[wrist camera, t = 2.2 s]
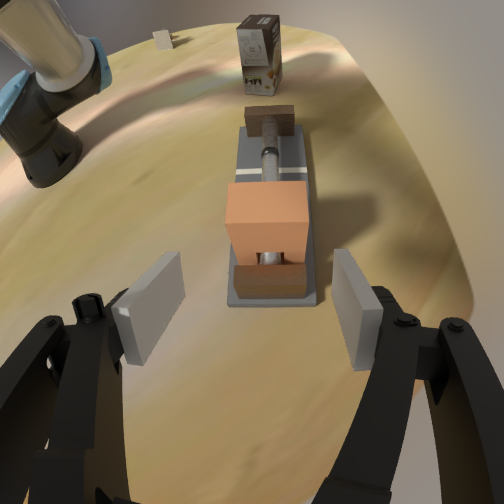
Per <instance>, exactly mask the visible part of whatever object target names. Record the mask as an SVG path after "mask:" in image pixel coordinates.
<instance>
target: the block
mask: <svg viewBox="0 0 504 504" xmlns="http://www.w3.org/2000/svg"><path fill="white" fill-rule="evenodd" d="M225 225H226V228H227V231H228V234H229V237H230V240H231V243H232V246H233V249H234V252H235V255H236V258H237V261H238V264H239V265H260V253H264V252H281V265H299V264H304V260H305V252H306V244H307V236H308V228H309V213H308V200H307V189H306V181H267V182H240V183H229V186H228V197H227V208H226V220H225Z"/></svg>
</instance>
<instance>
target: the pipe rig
mask: <svg viewBox="0 0 504 504" xmlns="http://www.w3.org/2000/svg"><path fill="white" fill-rule="evenodd" d="M244 117H245V123H246V130H247V136H248V137H262V152H261V159H262V182H267V181H279V151H278V136H294V105H276V106H253V107H245V114H244ZM233 286H234V289H235V291H236V293H237V295H238V298H239V299H304V297H305V292H306V287H307V274H306V264H299V265H281V252H264V253H260V265H234V278H233Z"/></svg>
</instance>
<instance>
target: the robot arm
mask: <svg viewBox="0 0 504 504" xmlns="http://www.w3.org/2000/svg"><path fill="white" fill-rule="evenodd" d="M0 41H2V42H3V43H4V44H5V45H6V46H7V47H9V48H10V49H11V50H12V51H13V52H14V53H16V54H17V55H18V56H19V57H20V58H21V59H23V60H24V61H25V62H26V63H27V64H29V65H30V66H31V67H32V68H33V69H35V72H33V73H32V74H30V72H29V71H27V70H23V71H22V72H20V73H18V74H17V75H16V76H14V77H13V78H12V79H11V80H10V81H9V82H8V83H7V84H6V85H5V86H4V87H3V88H2V89H1V91H0V135H1V136H2V137H3V138H4V140H5V141H6V142H7V143H8V145H9V146H10V147H11V148H12V149H13V151H14V152H15V153H16V154H17V155H18V157H19V158H20V160H21V163H22V166H23V168H24V171H25V174H26V176H27V179H28V180H29V181H30V183H31V184H32V185H33V186H34V187H36V188H45V187H48V186H50V185H52V184H54V183H55V182H57V181H58V180H60V179H61V178H62V177H63V176H64V175H66V174H67V173H68V172H69V171H70V169H71V168H72V167H73V166H74V164H75V163H76V161H77V160H78V158H79V156H80V154H81V151H82V142H81V140H80V139H79V137H78V136H77V135H76V134H75V133H74V132H73V131H71V130H70V129H68V128H67V127H65V126H64V125H63V124H61V123H60V122H59V121H58V119H57V117H58V116H60V115H61V114H63V113H64V112H66V111H68V110H69V109H71V108H73V107H74V106H76V105H78V104H79V103H81V102H83V101H85V100H86V99H88V98H90V97H92V96H93V95H95V94H99V93H100V92H101V91H102V90H104V89H106V88H107V87H109V86H110V85H111V83H112V74H111V70H110V67H109V64H108V60H107V57H106V54H105V51H104V48H103V46H102V43H101V41H100V40H99V38H98V37H92V38H86V37H84V36H81V35H76V33H75V32H74V30H73V28H72V27H71V25H70V23H69V22H68V20H67V18H66V17H65V15H64V13H63V12H62V10H61V8H60V6H59V5H58V3H57V1H56V0H0ZM331 295H332V299H333V302H334V305H335V309H336V312H337V315H338V318H339V322H340V325H341V329H342V332H343V336H344V339H345V343H346V346H347V350H348V353H349V357H350V360H351V364H352V368H353V371H365V370H371V373H370V376H369V379H368V382H367V385H366V388H365V390H364V393H363V396H362V399H361V401H360V404H359V407H358V409H357V412H356V414H355V417H354V419H353V422H352V424H351V427H350V429H349V432H348V434H347V436H346V439H345V441H344V443H343V446H342V448H341V450H340V452H339V455H338V457H337V459H336V461H335V463H334V465H333V468H332V470H331V472H330V474H329V475H328V477H326V478H325V480H324V481H323V483H322V485H321V487H320V488H319V490H318V492H317V494H316V496H315V498H314V499H313V501H312V503H311V504H389V503H390V500H391V495H392V492H391V491H390V488H391V484H392V481H393V477H394V474H395V471H396V467H397V463H398V459H399V456H400V452H401V448H402V444H403V440H404V435H405V431H406V426H407V422H408V417H409V411H410V406H411V400H412V395H413V388H414V382H415V379H419V380H424V385H425V389H426V394H427V398H428V404H429V408H430V414H431V419H432V425H433V430H434V437H435V443H436V450H437V458H438V466H439V475H440V484H441V497H442V504H504V390H503V388H502V385H501V383H500V381H499V379H498V377H497V375H496V373H495V371H494V368H493V367H492V365H491V362H490V360H489V358H488V357H487V355H486V353H485V351H484V349H483V347H482V345H481V343H480V341H479V339H478V338H477V336H476V334H475V332H474V330H473V329H472V327H471V326H470V324H469V323H468V322H466V321H464V320H463V319H461V318H460V319H459V318H453V317H451V318H445V319H443V320H442V321H441V323H440V326H439V329H437V328H427V327H422V326H421V323H420V320H419V319H418V318H417V317H415V316H413V315H411V314H408V313H404V312H403V310H402V309H401V307H400V306H399V304H398V303H397V302H396V300H395V298H394V297H393V295H392V294H391V292H390V291H389V290H388V289H386V288H384V287H383V286H370V284H369V283H368V281H367V279H366V278H365V276H364V274H363V273H362V271H361V269H360V268H359V266H358V265H357V263H356V261H355V260H354V258H353V256H352V255H351V253H350V252H349V250H348V249H334V256H333V277H332V294H331ZM184 298H185V289H184V282H183V275H182V268H181V260H180V252H179V251H175V252H166V253H165V254H164V255H163V256H162V257H161V258H160V259H159V260H158V261H157V262H156V263H155V264H154V265H152V266H151V267H150V268H149V269H148V270H147V271H146V272H145V273H144V274H143V275H142V276H141V277H140V278H139V279H138V280H137V281H136V282H135V283H134V284H133V285H132V286H131V287H130V288H127V289H125V290H123V291H121V292H119V293H118V294H117V295H116V296H115V297H114V298H113V299H112V300H111V301H110V303H108V304H107V305H106V306H105V307H104V305H103V301H102V297H101V295H99V294H96V293H90V294H85V295H82V296H79V297H77V298H76V299H74V300H73V302H72V305H73V308H74V311H75V315H76V318H77V323H76V325H66V326H64V323H63V320H62V317H60V316H56V315H54V316H52V315H50V316H46V317H44V318H43V319H41V320H40V321H39V322H38V323H37V324H36V325H35V326H34V327H33V328H32V330H31V331H30V332H29V333H28V334H27V336H26V337H25V338H24V339H23V340H22V341H21V343H20V344H19V345H18V346H17V348H16V349H15V350H14V351H13V352H12V354H11V355H10V356H9V357H8V359H7V360H6V361H5V363H4V364H3V365H2V366H1V368H0V504H23V502H24V500H25V497H26V494H27V492H28V489H29V497H28V504H140V503H136V502H132V501H131V499H130V494H129V487H128V478H127V469H126V458H125V445H124V429H123V403H122V365H121V362H120V358H121V356H122V355H123V353H124V355H125V358H126V361H127V364H132V365H140V366H143V365H144V364H145V362H146V360H147V359H148V357H149V355H150V354H151V352H152V350H153V349H154V347H155V345H156V344H157V342H158V340H159V339H160V337H161V335H162V334H163V332H164V330H165V329H166V327H167V325H168V324H169V322H170V320H171V319H172V317H173V315H174V314H175V312H176V311H177V309H178V307H179V306H180V304H181V302H182V301H183V299H184ZM47 358H49V361H50V363H51V365H52V366H51V367H50V369H48V367H47ZM374 359H375V361H374ZM48 439H49V443H48V448H47V449H44V448H45V446H46V443H47V441H48ZM29 486H30V487H29Z"/></svg>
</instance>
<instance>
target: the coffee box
mask: <svg viewBox="0 0 504 504" xmlns="http://www.w3.org/2000/svg"><path fill="white" fill-rule="evenodd" d="M236 30H237V37H238V44H239V51H240V58H241V65H242V73H243V80H244V87H245V93H246V94H256V95H268V96H273V95H274V93H275V91H276V89H277V86H278V84H279V82H280V80H281V78H282V56H281V37H280V20H279V15H249V17H248V18H246V19H245V20H244V21H243V22H242V23H241V24H240V25H239V26H238V27H237V28H236Z"/></svg>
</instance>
